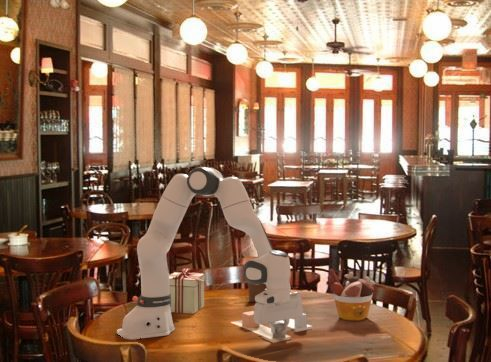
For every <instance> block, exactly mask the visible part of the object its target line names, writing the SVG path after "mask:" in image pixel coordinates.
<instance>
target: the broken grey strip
mask: <svg viewBox="0 0 491 362" xmlns="http://www.w3.org/2000/svg"><path fill="white" fill-rule="evenodd" d="M307 316H308V315H307V313H304V312H303V315H302V316H301V317H297V318H292V319H289V324H288V326H287V328H290V331H291V332H293V333H294V332H295V333H297V332H302V331H308V330H312V329H313V325H311V324H310V325H309V324H308V323H307V322H308V317H307ZM276 322H281V323H284V321H283V320H281V321H276ZM276 322H275V323H276Z"/></svg>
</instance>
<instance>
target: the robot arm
mask: <svg viewBox="0 0 491 362" xmlns="http://www.w3.org/2000/svg"><path fill="white" fill-rule="evenodd" d="M197 195H198V196H203V197H210V196H211V197H214V196H215V197H216V198H217V200H218V201H219V204H220V207H221V211H222V212H223V216H224V219H225V220H226V222H227V225H229V226H230V227H232V228H234V229H235V230H239V231H242V232H244V233H246V234H247V235H248V237H249V238H250V239H251V241H252V243H253V246H254V248H255V251H256V252H257V256H258V257H256V258H252V259H250V260H248V261H246V262H245V263H244V265H243V267H242V275H243V278H244V279H245V281H246V282H247V284H249V283H250V284H253V285H258V284H266V289H265V291H263V292H262V293H260V294H258V295H256V296H255V301H256V302H257V303H255V304H254V306H253V311H254V321H255V322H256V323H257V324H260V325H264V324H268V326H269V328H271V333H273V334H275V333H277V328H275V327H274V325H275V323H276V321H281V320H283V321H284V324H285V329H286V332H287V331H288V324H289V319H294V318H297V317H301V316H302V315H303V313H304V306H303V300H302V294H301V293H300V292H299V291H295V292H291V288H292V287H291V284H290V283H291V282H290V281H291V263H290V262H291V261H290V257H289V255H288V254H287V253H286V252H285V251H283V250H282V251H281V250H276V249H274V247H273V245H272V243H271V240H270V239H269V236H268V234H267V232H266V230H265V229H266V228H264V226H263V223H262V221H261V219H260V218H259V217H258V216H257V214H256V212H255V210H254V208H253V205H252V203H251V200H250V197H249V194H248V192H247V190H246V187H245V186H244V184H243V182H242V181H241V179H240V178H239V177H236V176H227V177H225V175H224V174H223V173H222V172H221V171H220V170H218V169H216V168H213V167H209V166H206V167H205V166H198V167H195V168H193V169H191V171H189V173H188V174H185V173H177V174H174V175H173V177H172V178H171V180H170V181H169V183H168V184H167V186H165V190H163V193H162V195H161V197H160V199H159V201H158V204H157V205H156V207H155V210H154V212H153V216H152V218H151V221H150V224H149V227H148V229H147V231H146V232H145V234H144V235H143V236H141V238H140V239H139V240H138V241H137V246H136V253H137V259H138V265H139V266H138V267H139V272H140V287H141V288H140V291H141V292H140V293H141V294H140V295H139V296H136V295H134V296H133V297H132V301H133V302H135V303H136V305H135V306H134V308H133V309H132V310H131V311H129V312H128V313H127V314H126V315H125V316H124V317H123V320H122V328H118V329H117V330H116V335H117V334H118V335H120V336H121V337H120V336H119V337H120V338H122V337H123V338H122V339H125V340H130V341H131V340H139V339H140V338H141V339H147V338H148V339H149V338H157V337H163V336H169V335H170V334H171V333H172V332H174V331H175V329H176V328H175V325H174V322H173V317H172V312H171V308H170V307H171V294H170V285H169V275H170V273H169V272H170V271H169V267H168V256H167V253H168V252H169V251H170V249H171V247H172V245H173V242H174V239H175V237H176V235H177V233H178V230H179V227H180V225H181V223H182V221H183V218H184V217H185V214H187V210H188V208H189V206H190V204H191V201H192V199H193V198H194V197H195V196H197ZM118 335H117V336H118Z"/></svg>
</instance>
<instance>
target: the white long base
mask: <svg viewBox="0 0 491 362" xmlns="http://www.w3.org/2000/svg"><path fill="white" fill-rule="evenodd" d="M230 323H231V324H233V325H236V326H238V327H241V328H243V329H244V330H247V331H250V332H252V333H255V334H257V335H258V336H257V337H258V338H261V339H263V340H266V341H267V342H270V343H273V344H275V343H279V342H283V341H288V340H291V339H292V335H288V334H286V333H287V331H286V329H285V324H284V323H281V322H275V325H274V327H275V328H277V333H275V334H273V333H271V328H270V327H268V326H265V325H264V324H260V326H258V327H253V328H247V327H245V326H243V325H242V319H241V320H236V321H231V322H230Z"/></svg>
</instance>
